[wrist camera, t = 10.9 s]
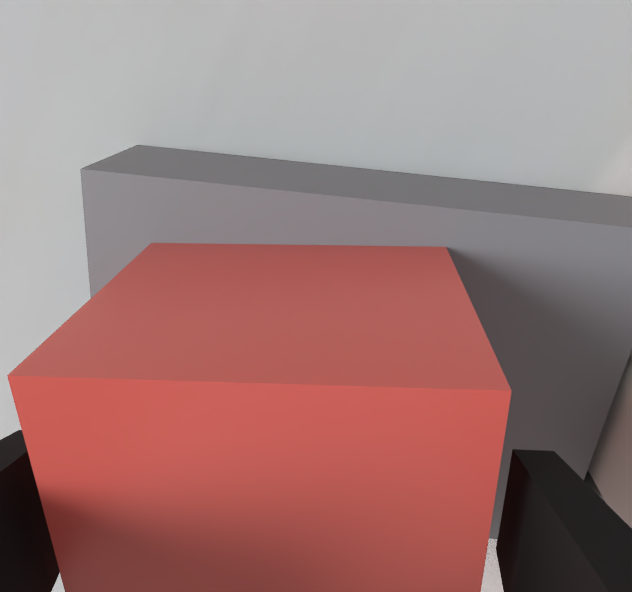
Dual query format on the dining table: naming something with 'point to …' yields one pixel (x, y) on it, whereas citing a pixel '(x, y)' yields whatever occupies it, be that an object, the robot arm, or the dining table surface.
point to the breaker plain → (616, 451)
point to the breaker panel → (414, 230)
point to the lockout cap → (269, 423)
